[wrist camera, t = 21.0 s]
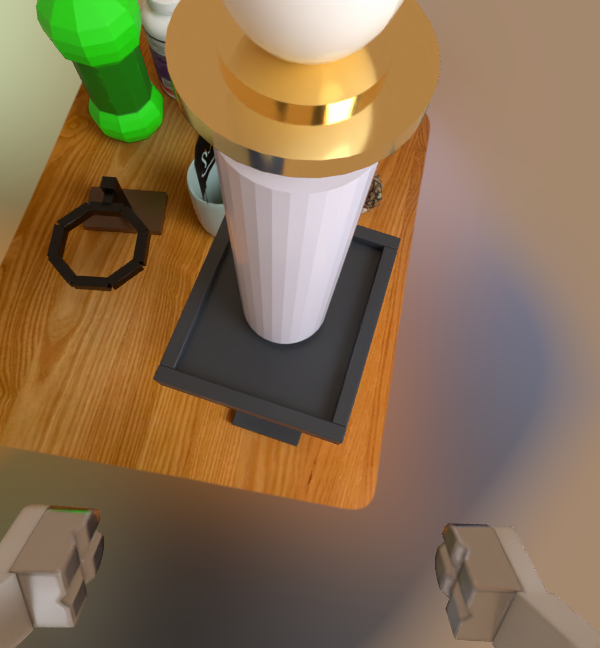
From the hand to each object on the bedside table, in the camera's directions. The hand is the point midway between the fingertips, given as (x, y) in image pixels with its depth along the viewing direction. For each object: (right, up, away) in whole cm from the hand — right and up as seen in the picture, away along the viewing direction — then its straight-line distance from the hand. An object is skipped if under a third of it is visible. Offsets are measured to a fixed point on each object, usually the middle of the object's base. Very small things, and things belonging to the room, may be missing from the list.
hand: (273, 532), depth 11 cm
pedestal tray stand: (-2, -4, +44) cm, 44 cm away
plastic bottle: (-23, +33, +54) cm, 68 cm away
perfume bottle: (0, +6, +14) cm, 15 cm away
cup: (-9, +19, +50) cm, 55 cm away
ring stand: (-23, +15, +48) cm, 55 cm away
